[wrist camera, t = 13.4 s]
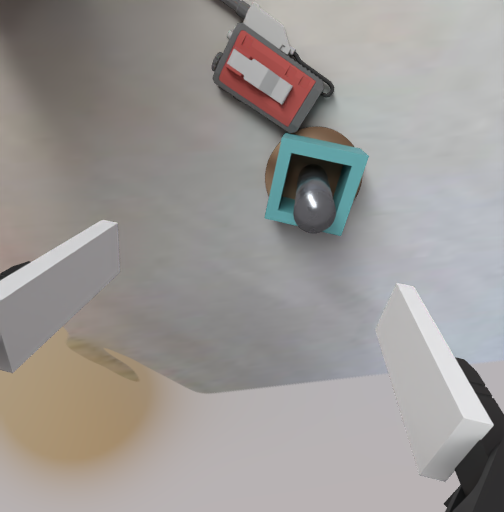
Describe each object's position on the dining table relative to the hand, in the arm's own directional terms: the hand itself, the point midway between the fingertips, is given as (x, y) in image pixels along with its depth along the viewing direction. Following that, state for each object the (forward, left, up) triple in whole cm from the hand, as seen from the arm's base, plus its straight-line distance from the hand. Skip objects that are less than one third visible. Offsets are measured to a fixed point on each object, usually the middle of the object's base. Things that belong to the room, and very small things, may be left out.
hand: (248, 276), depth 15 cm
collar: (0, +3, -28) cm, 28 cm away
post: (0, +4, -27) cm, 28 cm away
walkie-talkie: (-11, -7, -30) cm, 32 cm away
